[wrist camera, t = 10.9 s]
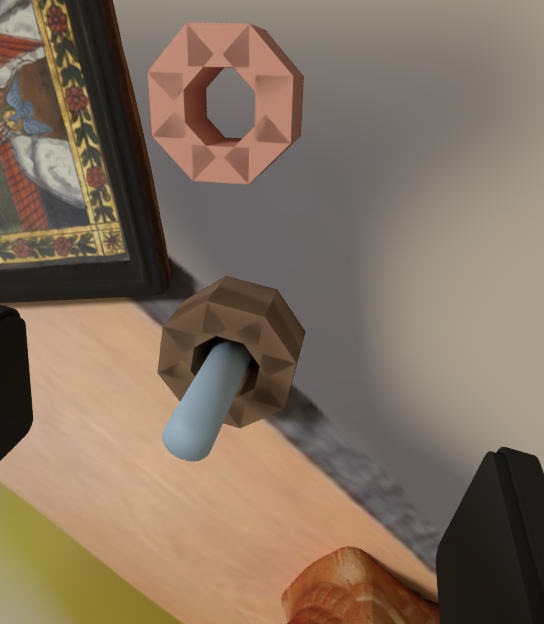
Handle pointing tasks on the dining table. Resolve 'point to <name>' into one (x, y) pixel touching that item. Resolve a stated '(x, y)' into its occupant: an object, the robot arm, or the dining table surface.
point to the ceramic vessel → (353, 594)
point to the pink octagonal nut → (192, 101)
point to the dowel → (207, 401)
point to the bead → (241, 328)
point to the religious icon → (73, 160)
